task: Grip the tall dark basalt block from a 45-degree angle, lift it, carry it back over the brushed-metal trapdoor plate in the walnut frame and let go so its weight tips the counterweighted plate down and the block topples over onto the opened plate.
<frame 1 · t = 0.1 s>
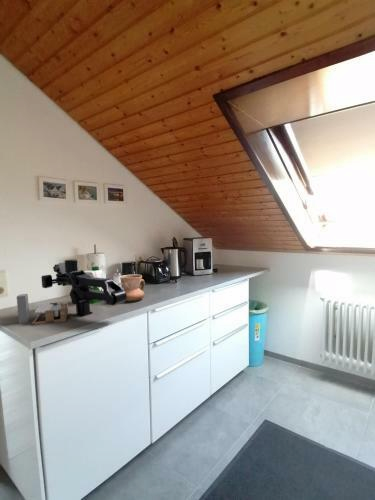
hand: (50, 278, 154), 17 cm above the worktop, tool horizontal, fingers open, 9 cm apart
milk carton: (94, 301, 167), on the worktop
ceramic jug: (133, 300, 166), on the worktop
trapdoor: (48, 310, 136), point 4 cm above the worktop, hinge at 4.0°
basalt block: (24, 321, 133), on the worktop
frame: (50, 318, 137), on the worktop
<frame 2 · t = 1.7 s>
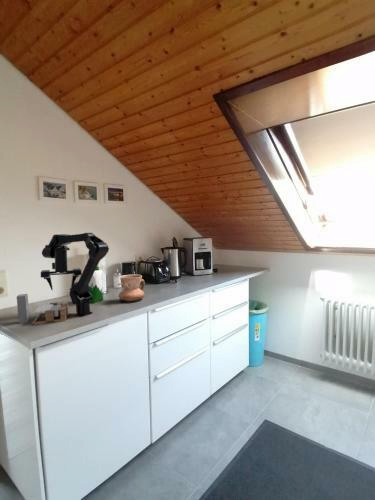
hand: (62, 289, 146), 12 cm above the worktop, tool pointing down, fingers open, 9 cm apart
nothing on the worktop moved.
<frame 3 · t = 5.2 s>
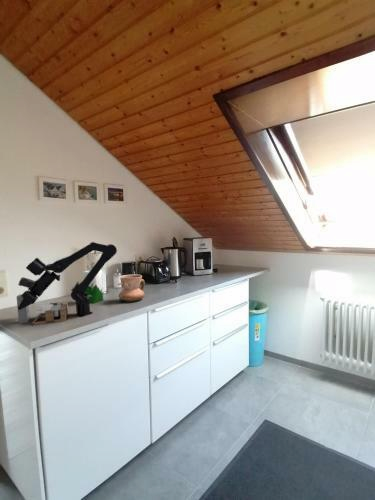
hand: (19, 307, 133), 7 cm above the worktop, tool tilted 45°, fingers closed on basalt block, 5 cm apart
basalt block: (24, 321, 133), on the worktop, touching gripper
everything else where it was.
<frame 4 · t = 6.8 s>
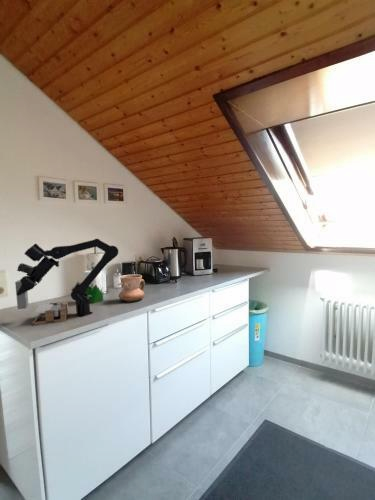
hand: (18, 293, 132), 13 cm above the worktop, tool tilted 45°, fingers closed on basalt block, 5 cm apart
basalt block: (23, 307, 133), point 7 cm above the worktop, touching gripper
everything else where it was.
when the fingers open (13 cm above the worktop, at t = 8.4 s): basalt block stays where it is and tips over, resting on trapdoor.
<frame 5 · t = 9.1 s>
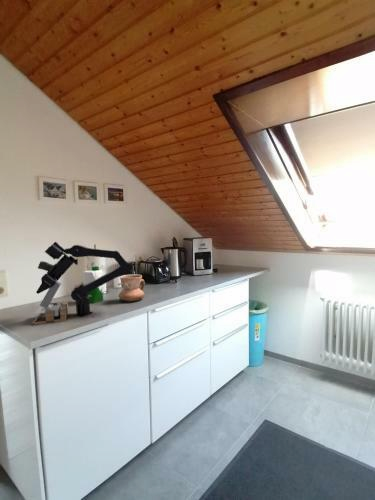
hand: (38, 291, 135), 14 cm above the worktop, tool tilted 45°, fingers open, 9 cm apart
trapdoor: (49, 310, 136), point 4 cm above the worktop, hinge at 0.4°, touching basalt block
basalt block: (44, 306, 136), point 6 cm above the worktop, tilted 32°, touching gripper, trapdoor
everything else where it was.
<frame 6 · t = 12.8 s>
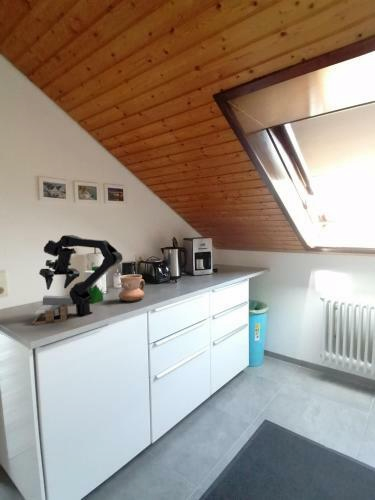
hand: (56, 288, 143), 13 cm above the worktop, tool tilted 20°, fingers open, 9 cm apart
trapdoor: (49, 310, 136), point 4 cm above the worktop, hinge at -5.1°
basalt block: (43, 300, 137), point 9 cm above the worktop, tilted 99°, touching arm
everything else where it was.
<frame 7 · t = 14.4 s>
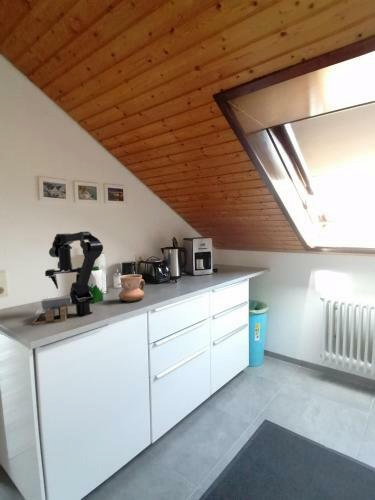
hand: (67, 287, 148), 12 cm above the worktop, tool pointing down, fingers open, 9 cm apart
trapdoor: (49, 310, 136), point 4 cm above the worktop, hinge at -5.5°, touching basalt block
basalt block: (42, 303, 137), point 7 cm above the worktop, tilted 89°, touching frame, trapdoor
everything else where it was.
at the end: basalt block inside the target area on the trapdoor (3.8 cm from its centre), point 2.0 cm above the trapdoor's base; basalt block tilted 89°; the gripper is holding nothing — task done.
